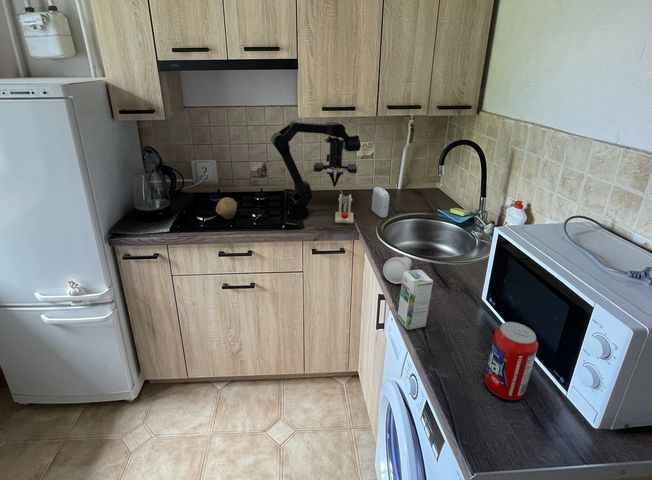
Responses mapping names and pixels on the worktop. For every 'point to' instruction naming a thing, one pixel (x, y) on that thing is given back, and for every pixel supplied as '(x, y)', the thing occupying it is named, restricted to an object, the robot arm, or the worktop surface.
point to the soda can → (511, 360)
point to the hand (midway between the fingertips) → (334, 186)
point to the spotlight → (396, 269)
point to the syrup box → (414, 299)
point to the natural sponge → (226, 207)
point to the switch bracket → (338, 214)
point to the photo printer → (380, 202)
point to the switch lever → (344, 213)
